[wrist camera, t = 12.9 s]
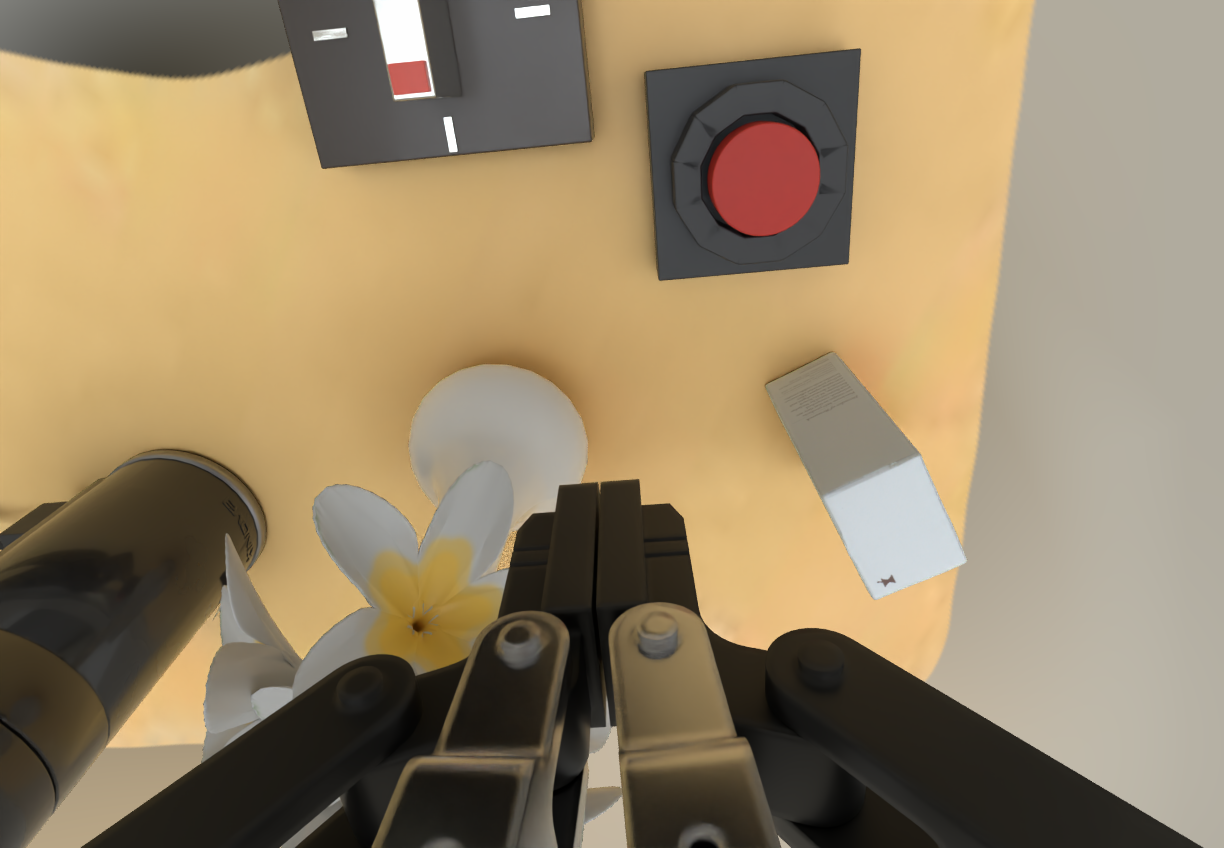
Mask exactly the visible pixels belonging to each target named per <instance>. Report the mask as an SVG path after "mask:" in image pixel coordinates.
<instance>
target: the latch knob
mask: <svg viewBox="0 0 1224 848" xmlns="http://www.w3.org/2000/svg"><path fill="white" fill-rule="evenodd" d="M373 5H374V10H375V15H376V20H377V24H378V29H379V34H380V39H381V44H382V48H383V53H384V58H385V63H386V68H387V72H388V77H389V82H390V87H391V92H392V96H393V100H394V101H396V102H399V101H424V100H436V99H446V98H456V97H461V96H462V90H461V84H460V78H459V72H458V66H457V60H456V55H455V49H454V43H453V37H452V31H451V25H450V19H449V13H448V7H447V1H446V0H373Z"/></svg>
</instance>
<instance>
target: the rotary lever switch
mask: <svg viewBox="0 0 1224 848" xmlns="http://www.w3.org/2000/svg"><path fill="white" fill-rule="evenodd" d="M446 1H447V7H448V13H449V19H450V25H451V31H452V37H453V43H454V49H455V55H456V60H457V66H458V72H459V78H460V84H461V90H462V96H461V97H456V98H446V99H436V100H424V101H399V102H396V101H394V100H393V96H392V92H391V87H390V82H389V77H388V72H387V68H386V63H385V58H384V53H383V48H382V44H381V39H380V34H379V29H378V24H377V20H376V15H375V10H374V5H373V0H278V4H279V8H280V11H281V15H282V19H283V23H284V27H285V30H286V34H287V38H288V42H289V46H290V49H291V53H292V57H293V61H294V65H295V68H296V72H297V76H298V80H299V84H300V87H301V91H302V95H303V99H304V102H305V106H306V110H307V114H308V118H309V121H310V125H311V129H312V133H313V137H314V140H315V144H316V148H317V152H318V156H319V159H320V163H321V167H322V168H323V169H327V168H336V167H346V166H356V165H366V164H376V163H386V162H396V161H406V160H416V159H426V158H436V157H446V156H456V155H466V154H476V153H486V152H496V151H505V150H515V149H525V148H535V147H545V146H555V145H565V144H575V143H585V142H591V141H592V140H593V139H594V137H595V135H594V124H593V114H592V104H591V94H590V83H589V73H588V63H587V52H586V42H585V32H584V21H583V11H582V1H581V0H446Z"/></svg>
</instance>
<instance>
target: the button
mask: <svg viewBox="0 0 1224 848" xmlns="http://www.w3.org/2000/svg"><path fill="white" fill-rule="evenodd" d="M819 184H820V165H819V160H818V156H817V153H816V151H815V149H814V147H813V145H812V144H811V142H810V141H809V140H808V139H807V137H806V136H805V135H803V134H802V133H801V132H800V131H798V130H797V129H795V128H793V127H791V126H789V125H786V124H782V123H778V122H773V121H755V122H750V123H747V124H744V125H742V126H740V127H738V128H737V129H735V130H733V131H732V132H731V133H729V134H728V135H727V136H726V137H725V138H724V139H723V140H722V141H721V143H720V144H719V145H718V147H717V148H716V150H715V152H714V154H713V156H712V158H711V161H710V164H709V168H708V174H707V185H708V192H709V196H710V199H711V201H712V203H713V205H714V207H715V209H716V210H717V211H718V213H719V214H720V215H721V217H722V218H723V219H724V220H725V221H726V222H727V223H728V224H729V225H730V226H731V227H733V228H734V229H736V230H738V231H740V232H742V233H744V234H748V235H752V236H769V235H774V234H777V233H780V232H782V231H785V230H787V229H788V228H790V227H792V226H793V225H794V224H796V223H797V222H798V221H799V220H800V219H801V218H802V217H803V216H804V215H805V214H806V213H807V212H808V210H809V209H810V207H811V205H812V204H813V202H814V200H815V197H816V195H817V192H818V188H819Z"/></svg>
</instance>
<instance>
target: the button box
mask: <svg viewBox="0 0 1224 848" xmlns="http://www.w3.org/2000/svg"><path fill="white" fill-rule="evenodd" d="M860 57H861V49H860V48H859V49H850V50H841V51H831V52H822V53H812V54H803V55H793V56H784V57H775V58H765V59H756V60H746V61H737V62H727V63H718V64H709V65H699V66H690V67H680V68H671V69H661V70H652V71H646V72H645V73H644V79H645V95H646V110H647V125H648V141H649V156H650V171H651V187H652V202H653V217H654V233H655V248H656V263H657V273H658V278H659V280H660V281H662V280H673V279H685V278H696V277H707V276H718V275H730V274H741V273H752V272H764V271H775V270H786V269H797V268H809V267H820V266H831V265H843V264H848V263H849V247H850V229H851V212H852V195H853V178H854V160H855V143H856V126H857V109H858V92H859V74H860ZM755 121H773V122H778V123H782V124H786V125H789V126H791V127H793V128H795V129H797V130H798V131H800V132H801V133H802V134H803V135H805V136H806V137H807V139H808V140H809V141H810V142H811V144H812V145H813V147H814V149H815V151H816V153H817V156H818V160H819V165H820V184H819V188H818V192H817V195H816V197H815V200H814V202H813V204H812V205H811V207H810V209H809V210H808V212H807V213H806V214H805V215H804V216H803V217H802V218H801V219H800V220H799V221H798V222H797V223H796V224H794V225H793V226H792V227H790V228H788V229H787V230H785V231H782V232H780V233H777V234H774V235H769V236H752V235H748V234H744V233H742V232H740V231H738V230H736V229H734V228H733V227H731V226H730V225H729V224H728V223H727V222H726V221H725V220H724V219H723V218H722V217H721V215H720V214H719V213H718V211H717V210H716V209H715V207H714V205H713V203H712V201H711V199H710V196H709V192H708V185H707V174H708V168H709V164H710V161H711V158H712V156H713V154H714V152H715V150H716V148H717V147H718V145H719V144H720V143H721V141H722V140H723V139H724V138H725V137H726V136H727V135H728V134H729V133H731V132H732V131H733V130H735V129H737V128H738V127H740V126H742V125H744V124H747V123H750V122H755Z"/></svg>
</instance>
